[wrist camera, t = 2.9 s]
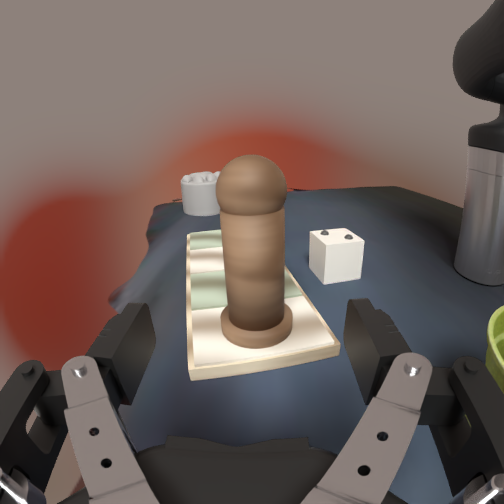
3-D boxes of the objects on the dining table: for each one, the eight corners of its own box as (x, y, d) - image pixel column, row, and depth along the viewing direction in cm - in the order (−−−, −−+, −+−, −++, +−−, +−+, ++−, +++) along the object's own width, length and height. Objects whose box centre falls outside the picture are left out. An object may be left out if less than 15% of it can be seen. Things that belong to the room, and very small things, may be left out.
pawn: (245, 301, 29) (237, 152, 24) (303, 317, 26) (306, 152, 21) (207, 334, 25) (187, 159, 19) (271, 357, 22) (267, 158, 16)
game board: (188, 241, 51) (187, 232, 50) (258, 234, 52) (257, 225, 52) (190, 380, 21) (187, 367, 21) (338, 355, 23) (341, 341, 23)
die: (308, 267, 39) (310, 227, 37) (342, 263, 40) (345, 224, 38) (323, 285, 35) (326, 241, 33) (360, 279, 36) (364, 237, 34)
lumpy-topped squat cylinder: (221, 201, 79) (219, 168, 75) (233, 212, 67) (231, 174, 64) (181, 206, 76) (178, 173, 73) (187, 218, 64) (183, 179, 61)
